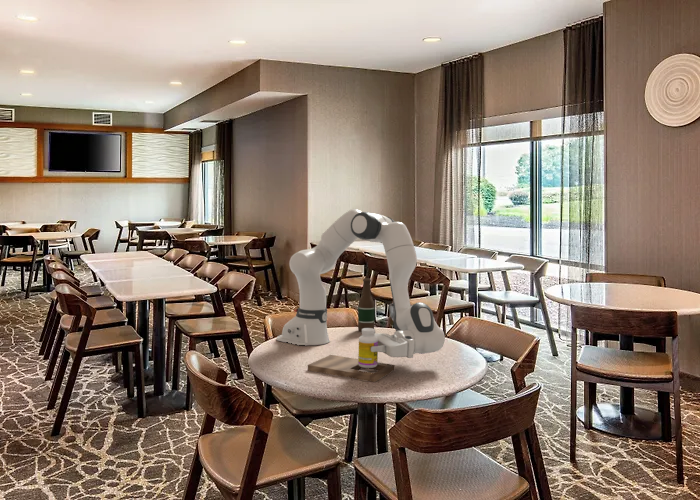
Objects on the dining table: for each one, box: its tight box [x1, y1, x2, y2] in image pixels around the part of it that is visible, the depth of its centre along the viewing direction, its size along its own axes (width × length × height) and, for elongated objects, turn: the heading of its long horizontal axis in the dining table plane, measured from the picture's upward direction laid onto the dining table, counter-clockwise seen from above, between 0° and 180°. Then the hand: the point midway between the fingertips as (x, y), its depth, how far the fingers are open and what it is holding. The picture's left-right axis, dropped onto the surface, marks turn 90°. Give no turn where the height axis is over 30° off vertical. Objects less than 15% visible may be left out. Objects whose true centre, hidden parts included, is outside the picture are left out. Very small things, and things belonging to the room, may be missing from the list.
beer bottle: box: [357, 277, 376, 333], centre depth 275 cm, size 8×8×24 cm
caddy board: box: [307, 354, 396, 383], centre depth 213 cm, size 26×16×2 cm, turn 62°
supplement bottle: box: [357, 328, 379, 369], centre depth 209 cm, size 7×7×13 cm
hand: (365, 346), depth 209 cm, fingers closed on supplement bottle, 7 cm apart
